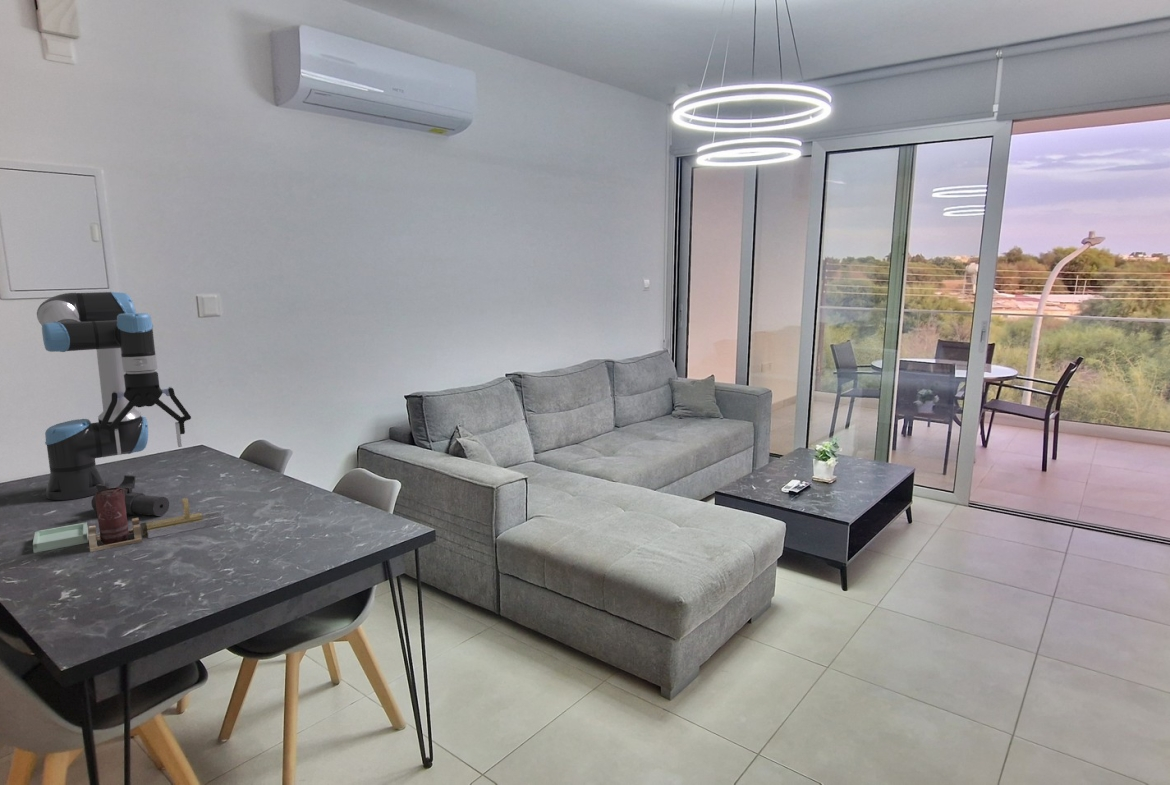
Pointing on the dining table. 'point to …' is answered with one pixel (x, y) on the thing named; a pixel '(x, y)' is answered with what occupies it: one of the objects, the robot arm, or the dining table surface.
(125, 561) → the dining table surface
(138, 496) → the laser sight
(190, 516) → the keeper bolt
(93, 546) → the socket
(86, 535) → the pale green shallow tray
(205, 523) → the keeper guide
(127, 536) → the can
